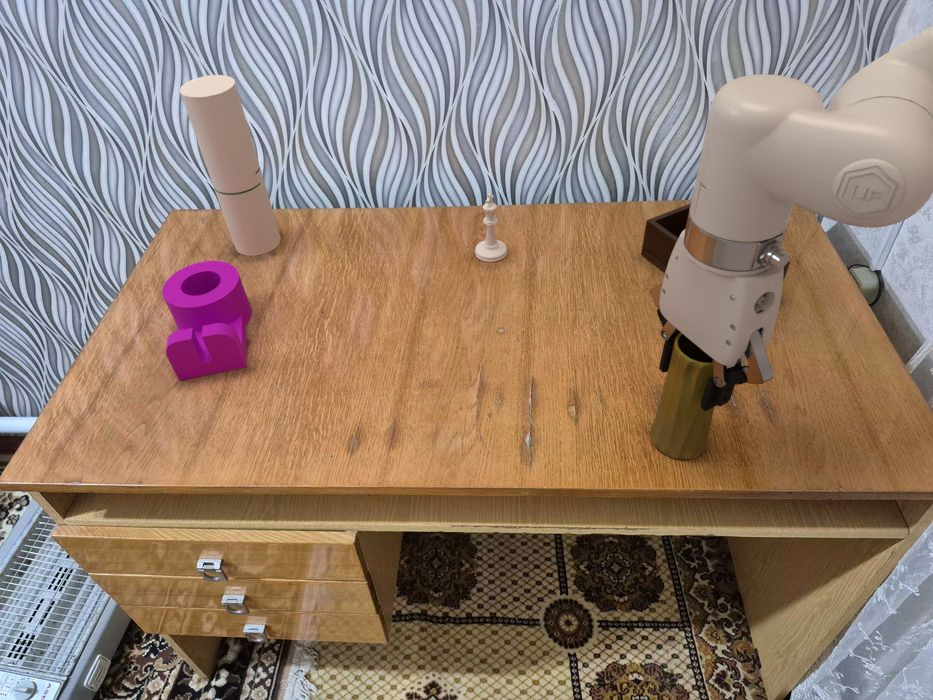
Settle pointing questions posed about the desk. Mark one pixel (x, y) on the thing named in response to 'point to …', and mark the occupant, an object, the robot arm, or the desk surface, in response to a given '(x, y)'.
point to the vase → (684, 403)
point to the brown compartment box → (667, 236)
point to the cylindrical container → (231, 162)
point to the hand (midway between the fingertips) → (692, 383)
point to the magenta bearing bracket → (207, 319)
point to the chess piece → (490, 236)
